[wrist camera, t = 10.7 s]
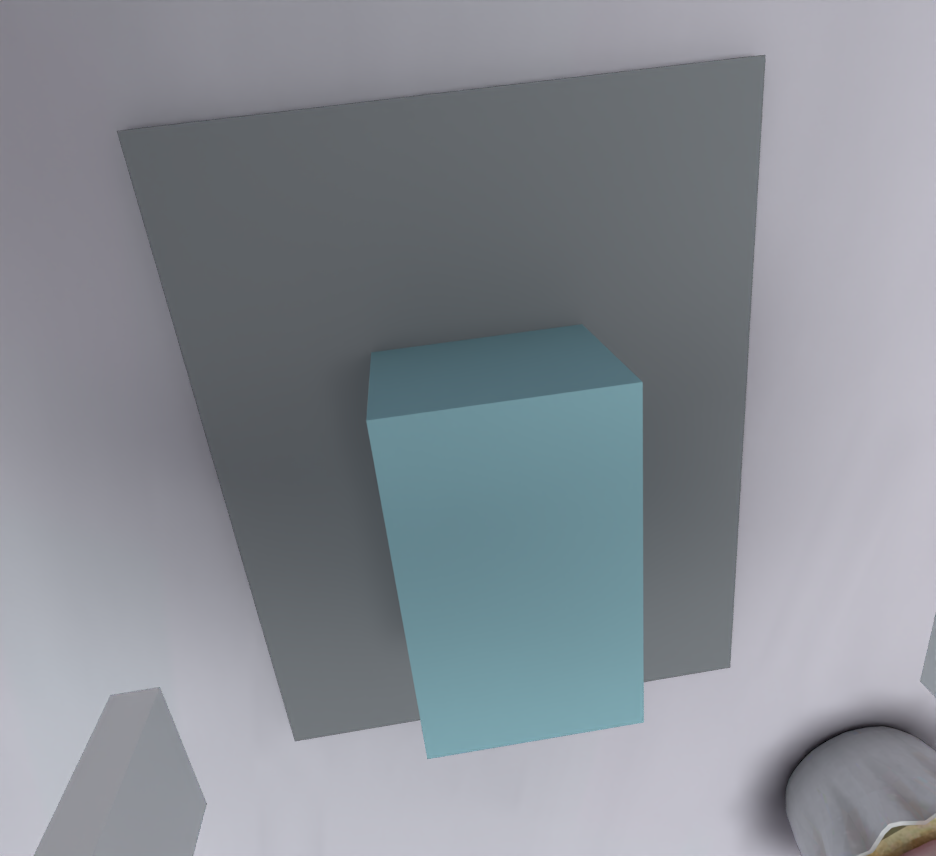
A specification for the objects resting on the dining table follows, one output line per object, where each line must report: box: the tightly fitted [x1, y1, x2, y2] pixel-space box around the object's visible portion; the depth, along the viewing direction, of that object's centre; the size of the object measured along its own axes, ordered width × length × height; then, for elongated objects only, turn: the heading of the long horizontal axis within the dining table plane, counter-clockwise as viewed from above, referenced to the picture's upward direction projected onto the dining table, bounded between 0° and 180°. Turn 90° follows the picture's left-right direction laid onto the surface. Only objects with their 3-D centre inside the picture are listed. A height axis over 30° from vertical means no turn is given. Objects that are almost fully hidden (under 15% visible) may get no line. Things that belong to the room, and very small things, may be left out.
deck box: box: [366, 324, 644, 759], centre depth 19 cm, size 6×10×5 cm, turn 6°
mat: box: [117, 55, 765, 741], centre depth 21 cm, size 20×16×1 cm
